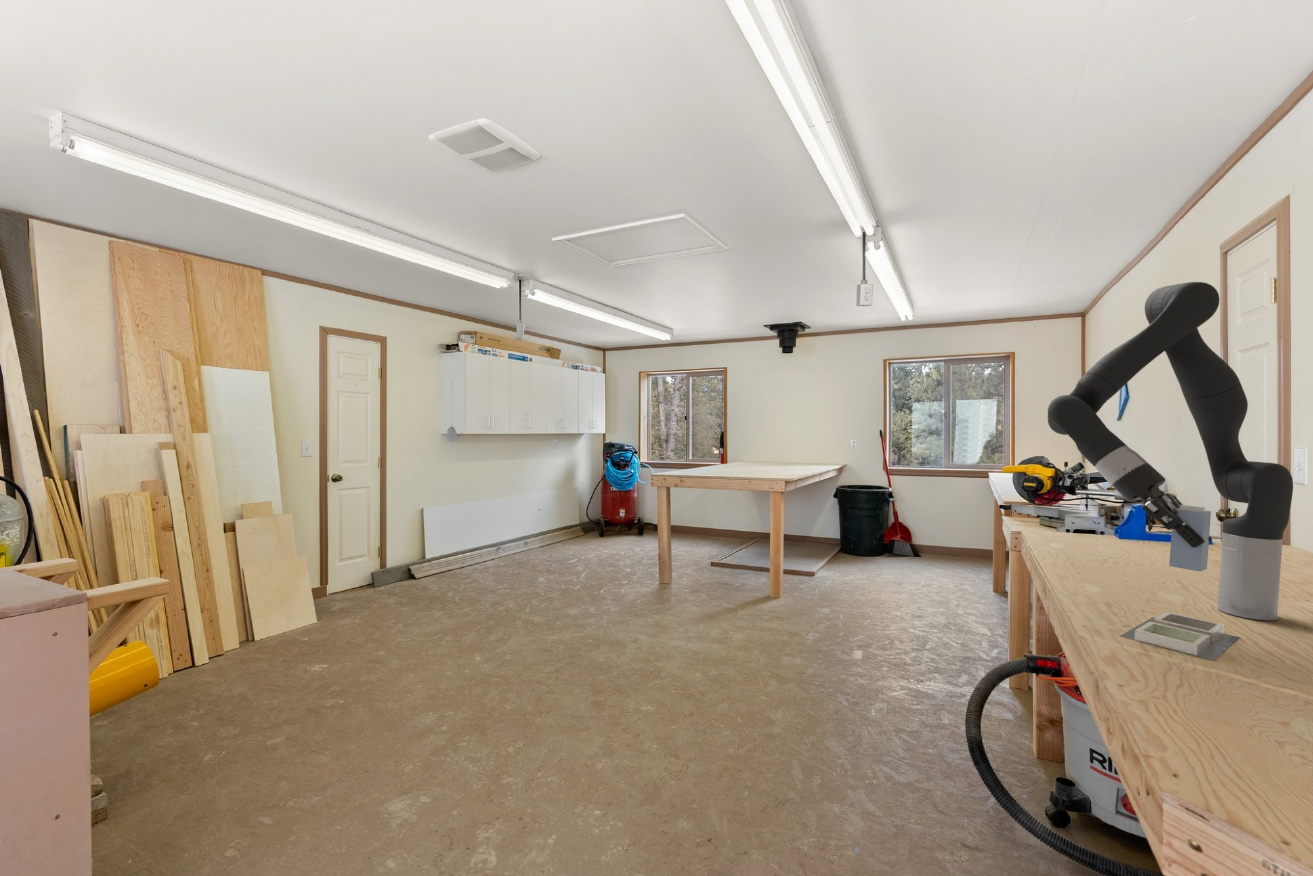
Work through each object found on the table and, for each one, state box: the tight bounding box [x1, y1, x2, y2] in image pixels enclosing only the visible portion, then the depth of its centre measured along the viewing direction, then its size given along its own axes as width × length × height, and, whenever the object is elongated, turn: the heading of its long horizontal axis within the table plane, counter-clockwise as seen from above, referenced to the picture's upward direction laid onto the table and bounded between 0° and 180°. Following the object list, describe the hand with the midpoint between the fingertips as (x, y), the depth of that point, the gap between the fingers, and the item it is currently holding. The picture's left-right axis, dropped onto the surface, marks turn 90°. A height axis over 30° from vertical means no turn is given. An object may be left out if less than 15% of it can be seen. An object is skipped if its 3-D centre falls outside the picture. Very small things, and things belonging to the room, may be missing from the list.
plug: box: [1168, 504, 1212, 573], centre depth 113 cm, size 4×4×12 cm
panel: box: [1119, 611, 1241, 662], centre depth 111 cm, size 20×13×2 cm, turn 126°
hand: (1203, 543), depth 111 cm, fingers closed on plug, 4 cm apart
